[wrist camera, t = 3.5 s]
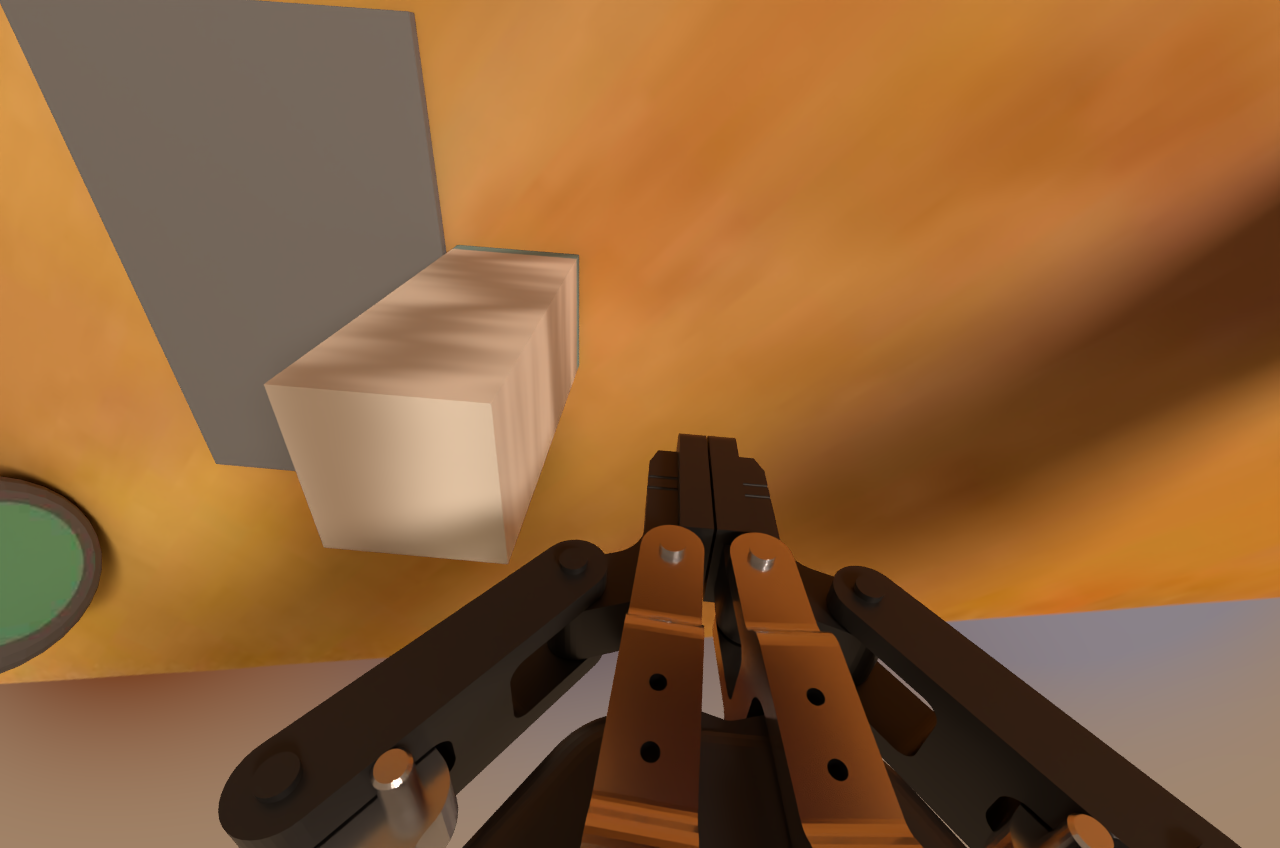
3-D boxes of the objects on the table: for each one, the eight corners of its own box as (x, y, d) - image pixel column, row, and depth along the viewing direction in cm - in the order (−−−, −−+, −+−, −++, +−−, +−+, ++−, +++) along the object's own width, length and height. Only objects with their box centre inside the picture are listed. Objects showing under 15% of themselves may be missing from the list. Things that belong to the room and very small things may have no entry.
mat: (413, 12, 17) (408, 11, 17) (477, 482, 28) (474, 486, 28) (2, -17, 18) (-11, -19, 17) (221, 459, 29) (216, 463, 28)
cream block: (579, 254, 21) (491, 403, 11) (579, 364, 24) (508, 564, 14) (457, 244, 22) (264, 384, 11) (471, 355, 24) (323, 547, 14)
